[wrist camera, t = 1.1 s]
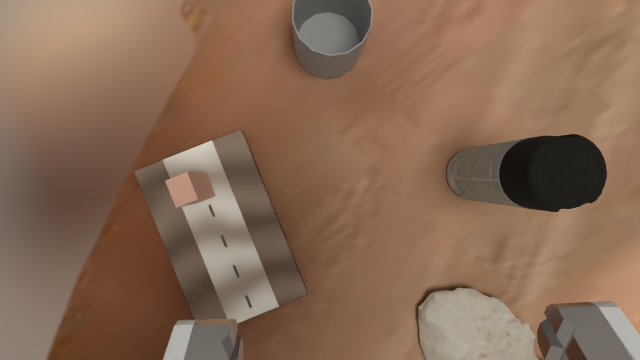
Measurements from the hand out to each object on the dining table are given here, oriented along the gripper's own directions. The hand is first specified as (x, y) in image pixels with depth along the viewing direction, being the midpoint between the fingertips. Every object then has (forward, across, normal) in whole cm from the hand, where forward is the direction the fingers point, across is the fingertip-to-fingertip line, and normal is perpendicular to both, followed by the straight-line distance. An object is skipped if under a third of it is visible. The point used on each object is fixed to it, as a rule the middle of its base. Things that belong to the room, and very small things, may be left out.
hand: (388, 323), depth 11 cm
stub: (+33, -17, -19) cm, 42 cm away
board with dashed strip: (+32, -16, -25) cm, 43 cm away
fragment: (+23, +16, -41) cm, 50 cm away
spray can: (+36, +16, -22) cm, 46 cm away
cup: (+46, -1, -7) cm, 46 cm away
